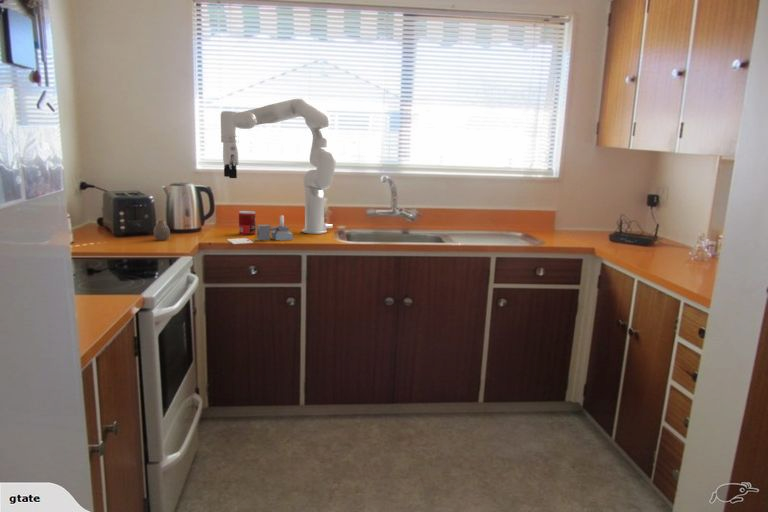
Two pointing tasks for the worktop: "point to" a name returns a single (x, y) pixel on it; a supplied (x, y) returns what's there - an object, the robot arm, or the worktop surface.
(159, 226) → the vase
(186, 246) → the worktop surface
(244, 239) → the mat
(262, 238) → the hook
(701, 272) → the worktop surface
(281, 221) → the grey joystick
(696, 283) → the worktop surface
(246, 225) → the canned food
